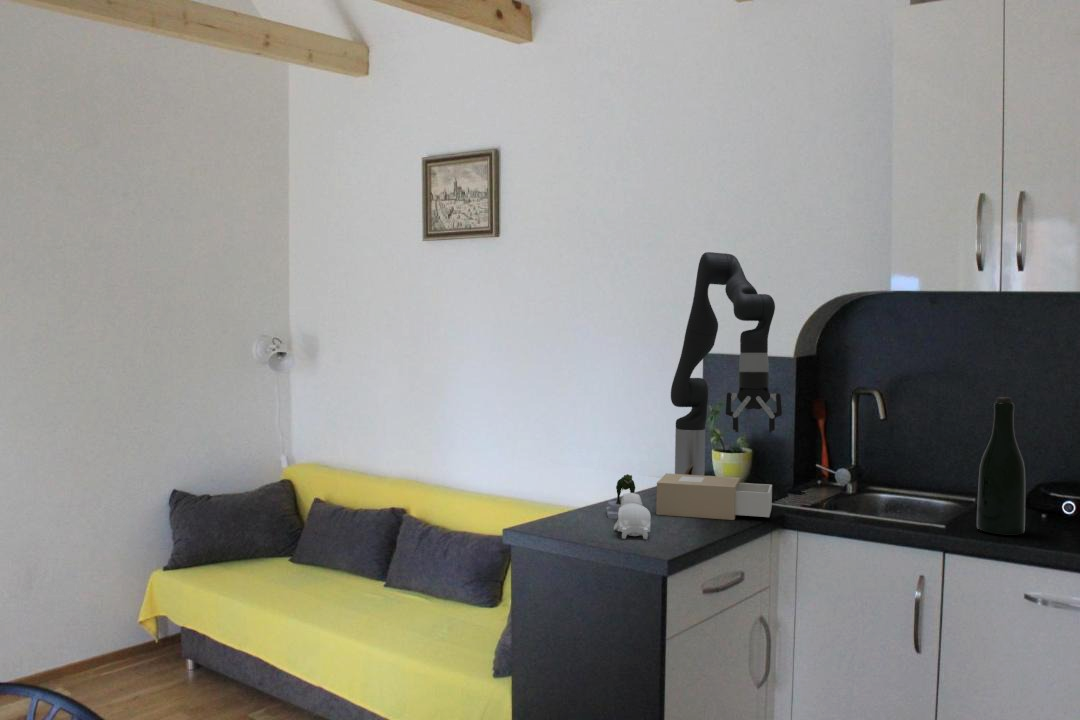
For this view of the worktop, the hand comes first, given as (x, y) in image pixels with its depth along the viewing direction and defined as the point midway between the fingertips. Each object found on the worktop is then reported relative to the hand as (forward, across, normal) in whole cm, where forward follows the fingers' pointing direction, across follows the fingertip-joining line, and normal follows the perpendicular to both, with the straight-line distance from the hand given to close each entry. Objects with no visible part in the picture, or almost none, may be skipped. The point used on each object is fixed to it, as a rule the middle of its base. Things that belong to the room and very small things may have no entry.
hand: (753, 432), depth 239 cm
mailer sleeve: (+22, +14, -1) cm, 26 cm away
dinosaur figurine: (+22, +32, +9) cm, 40 cm away
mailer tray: (+20, +5, -1) cm, 21 cm away
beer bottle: (+23, -59, 0) cm, 63 cm away
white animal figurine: (+23, +26, +30) cm, 46 cm away
